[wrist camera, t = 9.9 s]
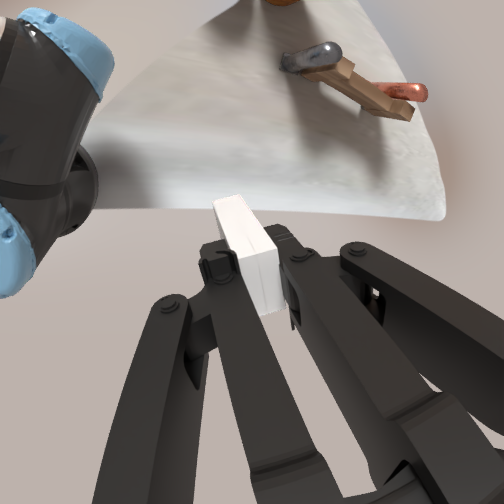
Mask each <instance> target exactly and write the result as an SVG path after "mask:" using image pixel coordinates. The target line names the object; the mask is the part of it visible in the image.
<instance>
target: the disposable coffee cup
mask: <svg viewBox="0 0 504 504" xmlns="http://www.w3.org/2000/svg"><path fill="white" fill-rule="evenodd" d="M266 1H267V2H269V3H271V4H273V5H277V6H287V5H290V4H292V3H294V2H297V1H299V0H266Z"/></svg>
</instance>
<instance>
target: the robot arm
mask: <svg viewBox="0 0 504 504" xmlns="http://www.w3.org/2000/svg"><path fill="white" fill-rule="evenodd" d="M113 69H114V57H113V55H112V52H111V50H110V49H109V48H108V47H107V46H106V44H105V43H103V42H102V41H101V40H100V39H99V38H97V37H96V36H95V35H93V34H92V33H91V32H89V31H88V30H86V29H84V28H83V27H81V26H80V25H78V24H76V23H74V22H72V21H70V20H68V19H66V18H64V17H58V16H57V15H56V14H53V13H51V12H49V11H47V10H44V9H39V8H28V9H26V10H24V11H23V12H22V13H21V14H19V15H18V17H17V20H13V19H9V18H6V17H0V299H3V298H6V297H9V296H13V295H15V294H16V293H17V292H18V291H20V290H21V288H22V287H23V286H24V285H25V284H26V282H28V281H29V280H30V279H31V278H32V277H33V274H34V272H35V270H36V268H37V267H38V265H39V264H40V262H41V261H42V259H43V258H44V256H45V255H46V253H47V252H48V250H49V249H50V247H51V246H52V245H53V243H54V242H55V241H56V239H57V238H58V237H62V236H65V235H67V234H69V233H71V232H73V231H75V230H76V229H77V228H78V227H80V226H81V225H82V224H83V222H84V221H85V220H86V219H87V217H88V216H89V214H90V213H91V211H92V209H93V207H94V205H95V202H96V199H97V194H98V177H97V172H96V168H95V165H94V163H93V161H92V159H91V157H90V155H89V154H88V153H87V151H86V150H85V149H84V148H83V147H82V146H81V145H80V142H81V140H82V137H83V135H84V132H85V130H86V128H87V125H88V123H89V121H90V118H91V116H92V114H93V112H94V110H95V107H96V105H97V103H100V102H101V100H102V97H103V91H104V88H105V86H106V84H107V82H108V80H109V78H110V76H111V73H112V72H113ZM212 204H213V208H214V212H215V216H216V220H217V224H218V228H219V232H220V237H221V240H218V241H214V242H211V243H207V244H203V246H202V248H201V249H200V255H201V259H200V260H199V264H198V265H199V267H200V271H201V274H202V277H203V281H204V284H205V286H204V288H203V289H202V290H201V292H199V293H198V294H197V295H195V296H193V297H191V298H190V299H187V298H186V297H185V296H183V295H180V294H172V295H168V296H165V297H163V298H161V299H159V300H158V301H157V302H156V303H154V305H153V307H152V308H151V311H150V314H149V316H148V319H147V321H146V324H145V327H144V329H143V332H142V335H141V338H140V340H139V344H138V346H137V349H136V352H135V354H134V358H133V360H132V363H131V367H130V369H129V372H128V375H127V378H126V381H125V384H124V387H123V390H122V393H121V397H120V400H119V403H118V406H117V410H116V413H115V416H114V420H113V423H112V426H111V430H110V433H109V437H108V440H107V444H106V448H105V452H104V455H103V459H102V463H101V467H100V471H99V475H98V479H97V483H96V488H95V492H94V496H93V501H92V504H193V499H194V487H195V477H196V467H197V455H198V447H199V437H200V427H201V419H202V410H203V401H204V393H205V385H206V376H207V368H208V359H209V354H208V352H210V351H211V350H213V349H215V348H217V347H218V348H219V353H220V357H221V362H222V365H223V370H224V374H225V378H226V382H227V386H228V390H229V394H230V398H231V402H232V406H233V410H234V413H235V417H236V421H237V425H238V428H239V432H240V436H241V439H242V443H243V447H244V450H245V454H246V457H247V461H248V464H249V468H250V479H251V484H252V487H253V491H254V495H255V498H256V501H257V504H504V450H501V449H497V448H494V447H493V446H492V445H491V443H490V442H489V440H488V439H487V438H486V436H485V435H484V433H483V432H482V431H481V429H480V428H479V427H478V425H477V424H476V423H475V422H474V420H473V419H472V417H471V416H470V415H469V413H470V414H471V415H472V416H474V417H475V418H476V419H477V420H479V421H480V422H482V423H483V424H484V425H485V426H487V427H488V428H490V429H491V430H493V431H495V432H497V433H499V434H501V435H503V436H504V320H502V319H501V318H499V317H498V316H496V315H494V314H493V313H491V312H490V311H488V310H486V309H485V308H483V307H481V306H480V305H478V304H476V303H475V302H473V301H471V300H469V299H468V298H466V297H465V296H463V295H461V294H460V293H458V292H456V291H454V290H453V289H451V288H449V287H447V286H446V285H444V284H442V283H440V282H439V281H437V280H435V279H433V278H432V277H430V276H428V275H426V274H424V273H422V272H421V271H419V270H417V269H415V268H414V267H411V266H410V265H408V264H406V263H404V262H402V261H400V260H399V259H397V258H395V257H393V256H391V255H389V254H387V253H385V252H383V251H382V250H380V249H378V248H376V247H374V246H372V245H370V244H367V243H364V242H351V243H348V244H345V245H344V246H342V247H341V249H340V256H332V257H321V256H320V255H319V254H318V253H317V252H316V251H315V250H314V249H311V248H304V247H303V246H302V245H301V244H300V243H299V242H298V240H297V239H296V238H295V237H294V236H293V234H292V233H290V231H289V230H288V229H287V228H286V227H285V226H282V225H280V224H275V225H271V226H267V227H264V228H263V227H262V226H261V224H260V223H259V221H258V220H257V218H256V217H255V216H254V214H253V213H252V211H251V210H250V209H249V207H248V206H247V204H246V203H245V202H244V200H243V199H242V197H241V196H240V194H237V195H233V196H229V197H225V198H222V199H218V200H214V201H212ZM373 288H374V289H376V290H377V291H379V296H376V295H375V294H373ZM285 300H286V301H287V303H288V305H289V312H290V319H291V327H292V330H294V329H295V327H294V325H295V326H296V328H297V330H298V331H299V333H300V335H301V337H302V339H303V341H304V342H305V345H306V346H307V348H308V350H309V352H310V354H311V356H312V357H313V359H314V361H315V363H316V365H317V367H318V369H319V371H320V373H321V374H322V376H323V378H324V380H325V382H326V384H327V386H328V387H329V389H330V391H331V393H332V395H333V397H334V399H335V401H336V403H337V404H338V406H339V408H340V410H341V412H342V414H343V416H344V418H345V419H346V421H347V423H348V425H349V427H350V429H351V430H352V433H353V434H354V436H355V438H356V440H357V442H358V444H359V445H360V447H361V450H362V451H363V453H364V455H365V457H366V459H367V462H368V466H369V473H370V476H371V479H372V481H373V483H374V485H375V487H376V489H377V491H374V492H370V493H366V494H361V495H357V496H351V497H346V498H343V496H342V494H341V492H340V490H339V488H338V485H337V483H336V481H335V479H334V477H333V475H332V472H331V470H330V468H329V467H328V464H327V462H326V460H325V459H324V457H323V456H322V454H321V453H319V452H318V451H317V449H316V447H315V445H314V443H313V441H312V439H311V437H310V434H309V432H308V430H307V427H306V425H305V423H304V421H303V418H302V416H301V414H300V412H299V409H298V407H297V405H296V403H295V400H294V398H293V395H292V393H291V391H290V388H289V386H288V384H287V382H286V379H285V377H284V375H283V372H282V370H281V368H280V365H279V363H278V361H277V358H276V356H275V353H274V351H273V349H272V346H271V345H270V342H269V339H268V337H267V335H266V332H265V330H264V328H263V325H262V323H261V320H260V318H259V316H263V315H266V314H269V313H272V312H276V311H279V310H282V309H286V304H285ZM419 373H420V374H421V375H422V376H424V377H425V378H426V379H427V380H429V381H430V382H431V383H432V384H434V385H435V386H436V387H438V388H439V389H440V390H441V391H442V392H435V391H433V390H432V389H431V388H430V387H429V385H428V384H427V383H426V382H425V380H424V379H423V378H422V376H421V375H420V374H419ZM468 412H469V413H468Z"/></svg>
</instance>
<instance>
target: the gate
mask: <svg viewBox="0 0 504 504" xmlns="http://www.w3.org/2000/svg"><path fill="white" fill-rule="evenodd" d="M354 66H355V64H354V63H352V62H351V61H349V60H348V59H346V58H345V57H343V56H342V58H341V60H340V61H339V62H337V63H332V64H327V65H322V66H317V67H312V68H308V69H303V71H302V73H301V76H303V77H305V78H307V79H309V80H311V81H313V82H317V81H322V82H324V83H326V84H327V85H329V86H331V87H333V88H334V89H336V90H338V91H339V92H341V93H343V94H344V95H346V96H348V97H349V98H351V99H352V100H354V101H356V102H357V103H359V104H360V105H361V108H362V109H364V110H366V111H368V112H369V113H371V114H372V115H374V116H379V117H386V118H392V119H397V120H403V121H408V122H410V121H411V118H412V116H413V113H414V111H415V108H414V107H413V106H411V105H410V104H409V103H408V102H407V101H405V100H396V99H392V98H390V97H389V96H388V95H387V94H385V93H384V92H382V91H381V90H380V89H378V88H377V87H376V86H374V85H373V84H371V83H370V82H368V81H367V80H366V79H364V78H363V77H361V76H360V75H358V74H357V73H355V72H354V71H353V69H354Z"/></svg>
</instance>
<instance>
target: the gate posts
mask: <svg viewBox="0 0 504 504" xmlns="http://www.w3.org/2000/svg"><path fill="white" fill-rule="evenodd" d="M341 58H342V50H341V48H340V46H339V45H338V44H336V43H334V42H326V43H323V44H320V45H317V46H314V47H311V48H308V49H306V50H303V51H300V52H297V53H295V54H292V55H291V54H288V53H284V55H283V58H282V61H281V65H280V68H279V69H280V70H283V71H286V72H289V73H292V74H295V75H298V72H299V70H303V69H308V68H312V67H317V66H322V65H327V64H332V63H337V62H339V61H340V60H341ZM368 82H369V81H368ZM370 83H371V82H370ZM371 84H373V85H374V86H376V87H377V88H378V89H380V90H381V91H382V92H384V93H385V94H387V95H388V96H389V97H390V98H392V99H397V100H407V101H416V102H425V101H426V100H427V98H428V90H427V88H426V86H425V85H423V84H420V83H389V82H374V83H371Z"/></svg>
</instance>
